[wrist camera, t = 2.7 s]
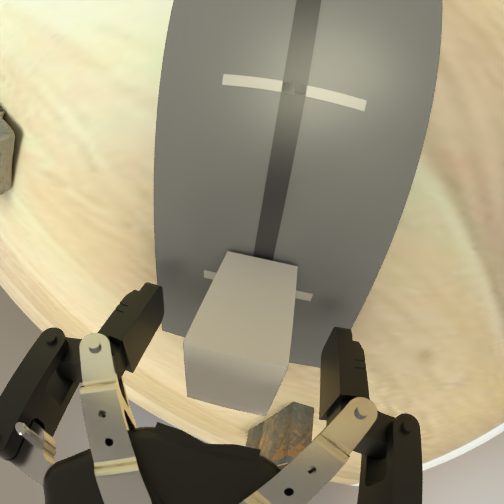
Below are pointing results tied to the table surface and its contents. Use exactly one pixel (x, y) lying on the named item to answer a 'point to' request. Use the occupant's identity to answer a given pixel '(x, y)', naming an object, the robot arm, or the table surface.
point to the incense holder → (5, 154)
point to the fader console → (289, 147)
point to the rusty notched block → (283, 434)
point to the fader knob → (242, 334)
